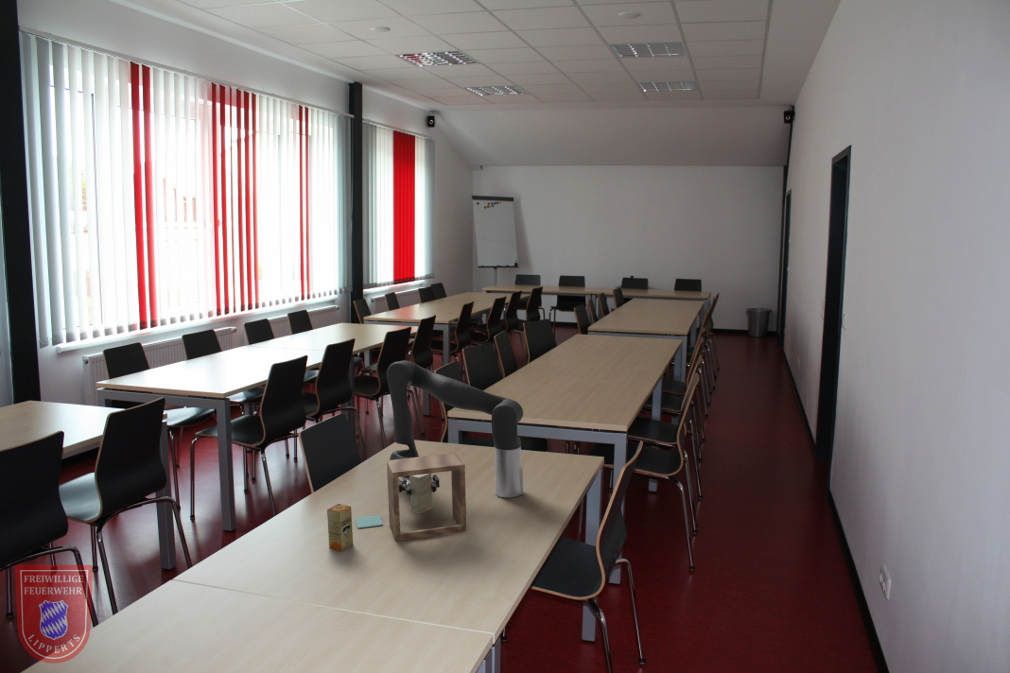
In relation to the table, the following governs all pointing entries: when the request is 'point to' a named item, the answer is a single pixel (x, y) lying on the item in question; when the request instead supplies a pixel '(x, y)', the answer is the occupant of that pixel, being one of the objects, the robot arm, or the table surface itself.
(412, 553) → the table surface
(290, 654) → the table surface
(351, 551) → the table surface
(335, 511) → the shoe polish box
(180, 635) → the table surface
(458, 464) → the wooden square frame
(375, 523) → the mat
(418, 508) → the skincare box
